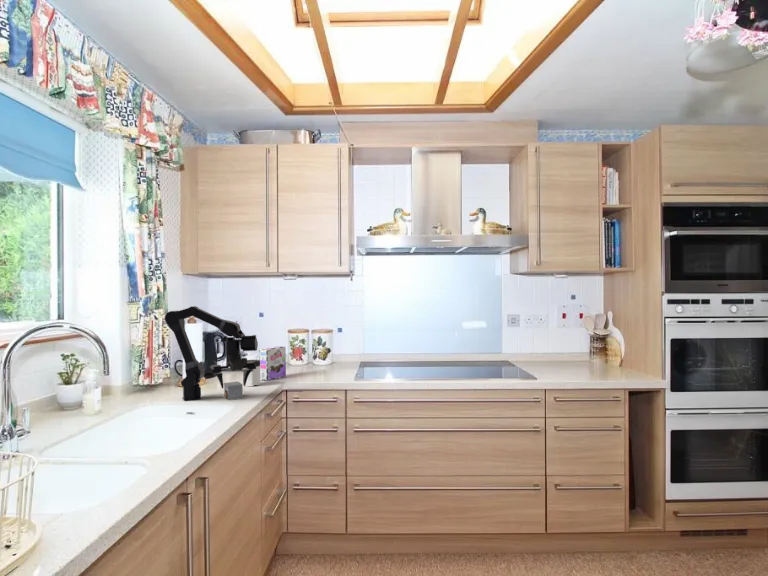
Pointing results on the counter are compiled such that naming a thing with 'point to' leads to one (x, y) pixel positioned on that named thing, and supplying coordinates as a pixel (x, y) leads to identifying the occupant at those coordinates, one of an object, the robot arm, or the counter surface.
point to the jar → (254, 374)
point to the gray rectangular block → (233, 390)
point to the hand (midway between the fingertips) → (233, 387)
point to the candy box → (272, 362)
